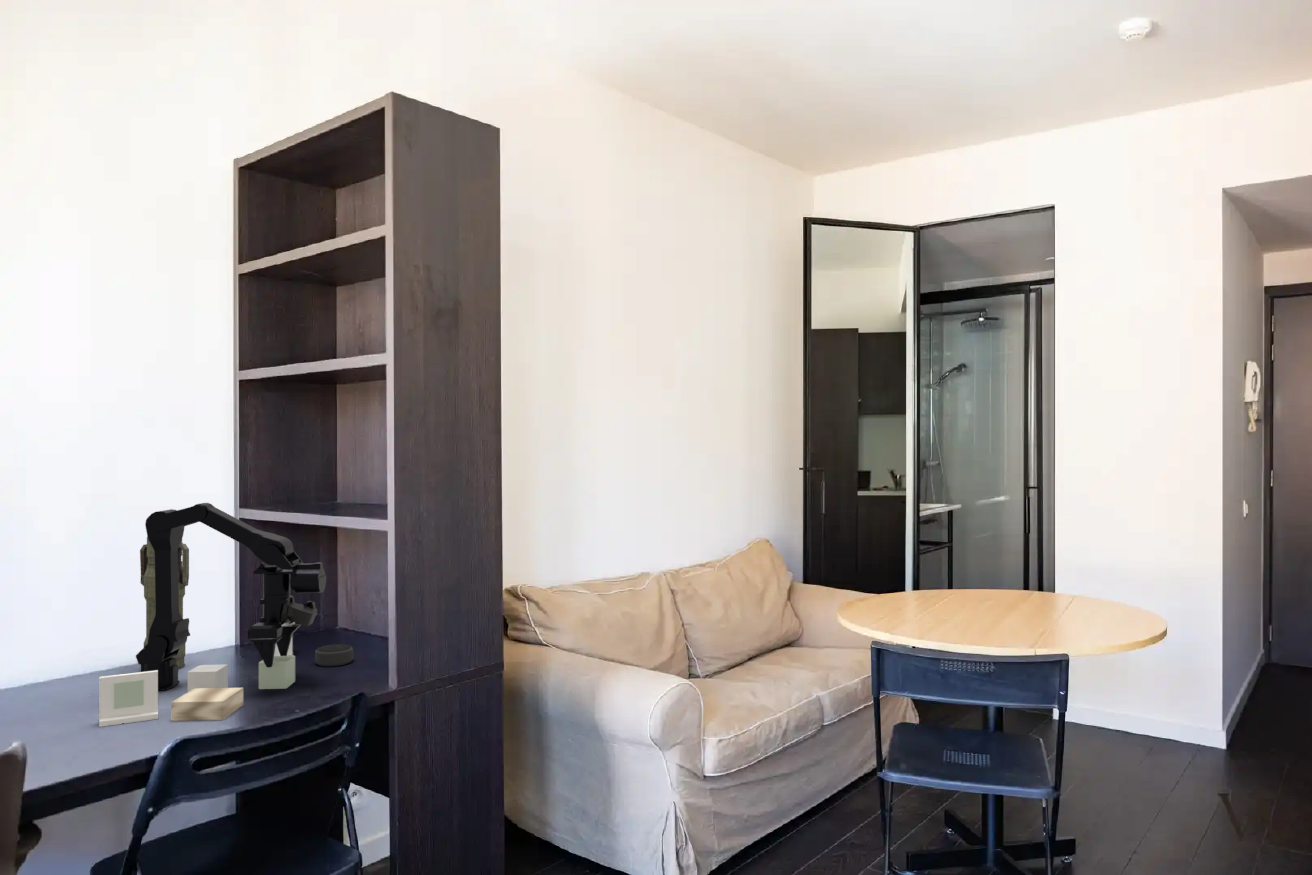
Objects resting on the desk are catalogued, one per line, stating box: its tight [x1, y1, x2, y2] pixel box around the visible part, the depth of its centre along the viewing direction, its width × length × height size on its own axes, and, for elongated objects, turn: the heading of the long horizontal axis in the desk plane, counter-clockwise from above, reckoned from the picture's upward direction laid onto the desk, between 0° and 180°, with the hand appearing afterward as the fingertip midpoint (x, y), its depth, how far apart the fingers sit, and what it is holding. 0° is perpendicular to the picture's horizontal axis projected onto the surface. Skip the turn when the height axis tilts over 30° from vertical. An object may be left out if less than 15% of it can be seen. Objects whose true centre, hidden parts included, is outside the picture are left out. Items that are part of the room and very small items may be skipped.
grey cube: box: [187, 664, 229, 693], centre depth 195 cm, size 6×6×6 cm
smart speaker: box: [314, 643, 354, 667], centre depth 223 cm, size 9×9×4 cm
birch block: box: [170, 687, 244, 722], centre depth 182 cm, size 10×10×4 cm
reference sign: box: [98, 670, 159, 728], centre depth 178 cm, size 10×5×9 cm, turn 120°
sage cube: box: [258, 655, 296, 690], centre depth 203 cm, size 6×6×6 cm
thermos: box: [139, 537, 190, 670], centre depth 219 cm, size 9×12×35 cm
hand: (276, 662), depth 203 cm, fingers open, 9 cm apart
